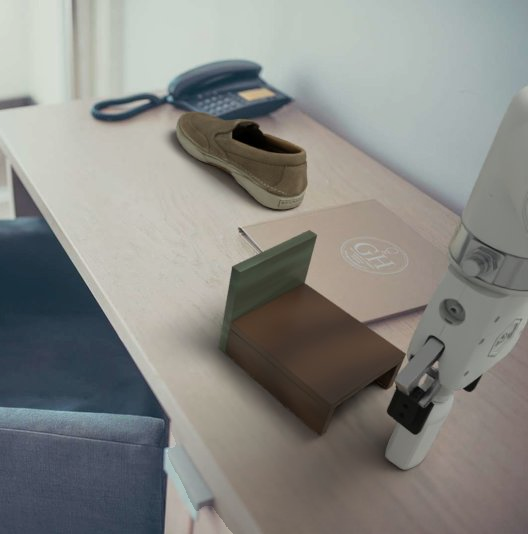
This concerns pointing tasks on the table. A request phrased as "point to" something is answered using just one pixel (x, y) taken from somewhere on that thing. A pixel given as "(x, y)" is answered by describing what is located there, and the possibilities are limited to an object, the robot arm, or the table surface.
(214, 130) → the slip on shoe
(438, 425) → the eye dropper bottle
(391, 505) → the table surface
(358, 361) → the shelf
